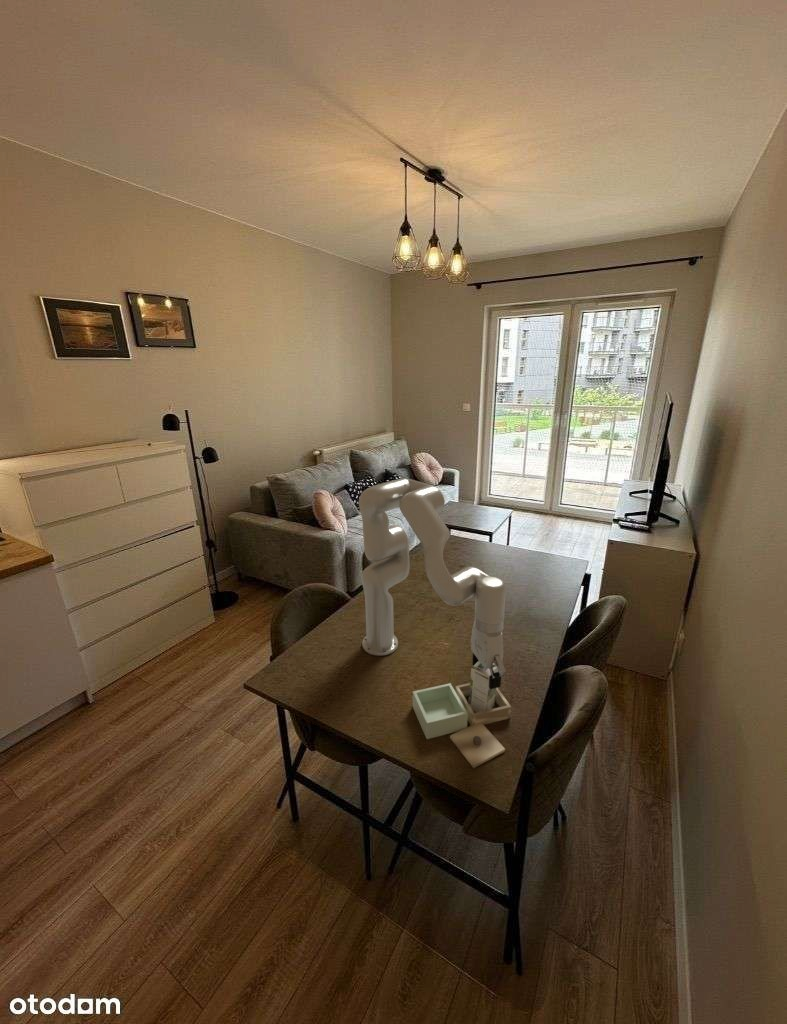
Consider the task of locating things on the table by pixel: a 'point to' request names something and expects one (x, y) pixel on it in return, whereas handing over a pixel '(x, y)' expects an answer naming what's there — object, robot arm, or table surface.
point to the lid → (477, 744)
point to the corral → (488, 715)
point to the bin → (439, 710)
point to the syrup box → (481, 689)
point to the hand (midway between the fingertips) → (485, 675)
